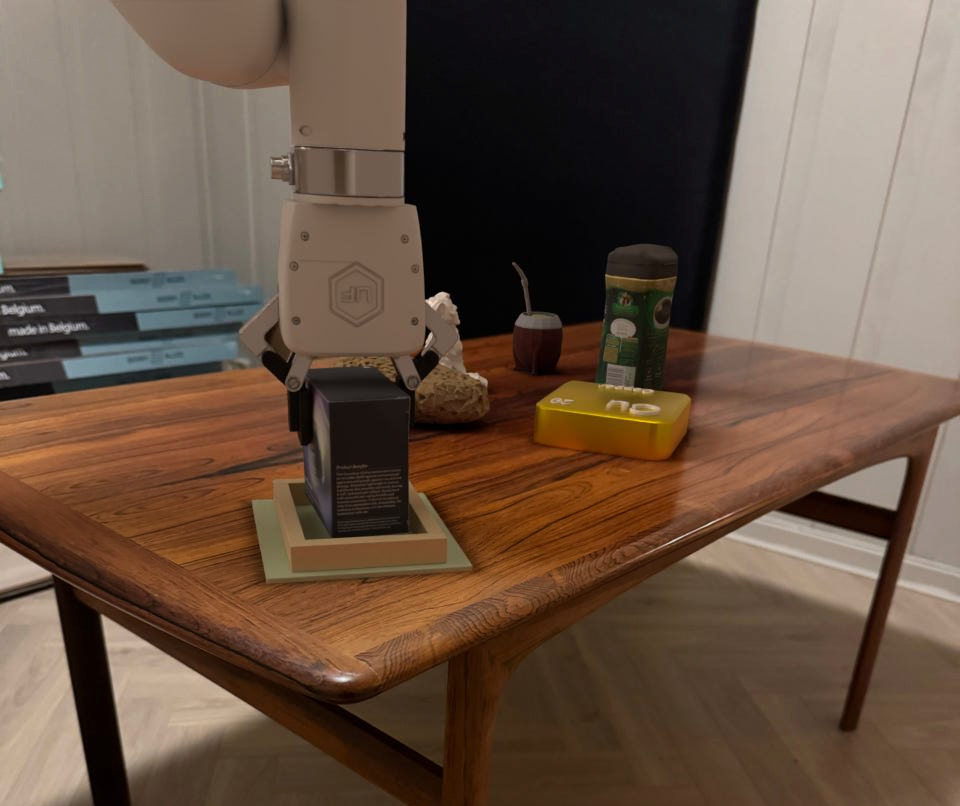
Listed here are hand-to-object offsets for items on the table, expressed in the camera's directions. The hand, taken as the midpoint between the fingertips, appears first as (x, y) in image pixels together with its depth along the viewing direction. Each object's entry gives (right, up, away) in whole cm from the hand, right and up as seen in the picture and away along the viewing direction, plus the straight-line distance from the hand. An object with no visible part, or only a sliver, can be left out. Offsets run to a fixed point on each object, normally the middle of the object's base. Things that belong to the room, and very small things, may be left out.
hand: (352, 437), depth 72 cm
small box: (0, -6, +3) cm, 6 cm away
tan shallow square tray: (0, -7, +4) cm, 8 cm away
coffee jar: (+30, +17, +55) cm, 65 cm away
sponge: (+1, +10, +38) cm, 40 cm away
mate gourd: (+17, +23, +64) cm, 70 cm away
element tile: (+25, +7, +34) cm, 43 cm away
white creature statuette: (+5, +17, +52) cm, 55 cm away
